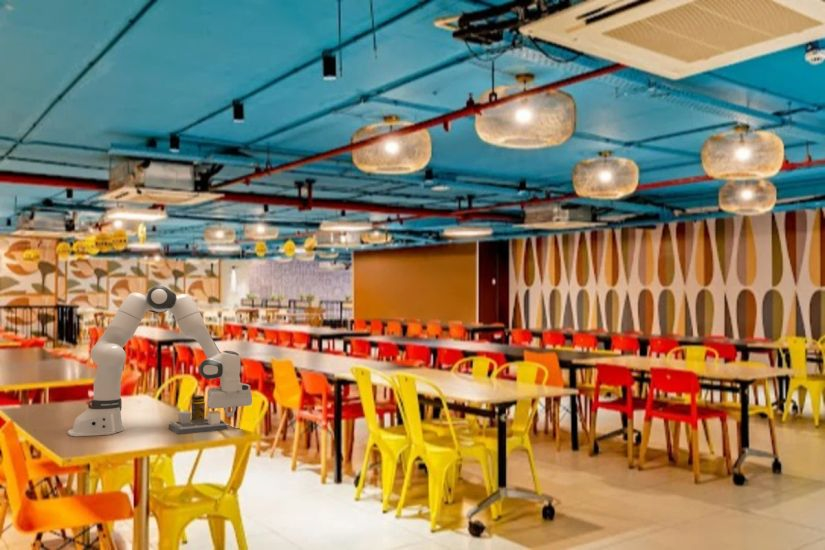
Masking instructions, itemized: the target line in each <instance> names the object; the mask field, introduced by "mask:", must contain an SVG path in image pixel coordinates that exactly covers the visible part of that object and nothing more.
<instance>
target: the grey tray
mask: <svg viewBox="0 0 825 550" xmlns="http://www.w3.org/2000/svg"><path fill="white" fill-rule="evenodd" d="M168 429H169V430H170V429H171V430H170V431H172V432H174V433H175V434H177V435H184V434H194V433H205V432H214V431H215V432H216V431H225V430H228V424H227V422H226V421H224V420H223V419H221V418H220V424H208V418H205V419H201V420H191V423H186V424H179V421H174V420H170V423H168Z"/></svg>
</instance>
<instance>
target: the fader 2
mask: <svg viewBox="0 0 825 550" xmlns="http://www.w3.org/2000/svg"><path fill="white" fill-rule="evenodd" d="M207 419H208V424H220V419H221V412H220V411H219V410H209V411H208V412H207Z"/></svg>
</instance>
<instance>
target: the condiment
mask: <svg viewBox="0 0 825 550" xmlns="http://www.w3.org/2000/svg"><path fill="white" fill-rule="evenodd" d="M205 412H206V402H205V396H204V395H199V394H198V395H194V396H192V401H191V420H201V419H206V418H205V416H206V415H205Z"/></svg>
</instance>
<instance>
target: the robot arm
mask: <svg viewBox="0 0 825 550" xmlns="http://www.w3.org/2000/svg"><path fill="white" fill-rule="evenodd" d="M168 311H169V312H170V313H172V315H173V317H174V319H175V321H176V324H177V325H178V328H179V329H180V331H181V332H182V333H183V335H185V336H186V337H189V338H191V339H193V340H195V341H196V342H197V343H198V344H199V345H200V347H201V349H202V351H203V353H204V355H205V357H206V359H204V360H203V361H201V362H200V364H199V368H198V371H199V374H200V377H202V378H203V379H207V380H215V379H219V381H220V384H219V385H220V386H217V387H211V388H209V389H208V390H207V401H206V403H207V405H206V406H207V408H208V409H211V410H212V409H221V408H222V409H223V411H224V412H225V417H226V418H233V417H234V413H235V412H236V409H237V407H238V408H239V407H250V406H251V405H252V404H253V395H252V391H251V385H249V384H247V383H244V382H241V377H240V376H241V375H240V373H241V357H240V355H239V353H237V352H236V351H233V350H223V351H222V352H221V351H220V350H219V348H218V346H217V344H216V343H215V340H214V338H213V337H212V334H211V333H210V332H209V329H208V328H207V324H206V323H205V321H204V319H203V316H202V313H201V311H200V309H199V308H198V305H197V304H196V303H195V301H194V300H193V298H192V297H191V296H190V295H189V294H186V293H180V294H177V295H176V293H175V292H173V291H172V290H170V289H169V288H168V287H165V286H163V285H155V286H153V287H151V288H150V289H149V291H148V292H147V294H143V293H140V292H137V291H136V292H130V293H129V294H128V295H127V296H126V297H125V299H124V300H123V302H122V303H121V304H120V306H119V307H118V310H117V311H116V313H115V314H114V315H113V318H112V320H111V322H110V323H109V325H108V326H107V328H106V330H105V331H104V332H103V333H102V335H101V336H100V337H99V339H98V340H97V342H96V343H95V344H94V345H93V347H92V348H91V349H90V353H89V354H90V358H91V361H92V362H93V363H94V364H95V365H96V366H97V367H96V373H95V377H94V381H93V398H92V399H91V400H90V399H87V400H86V401H85V403H86V405H88V406H87V407H88V408H87V409H86V410H85V411H83V412H81V414H79V415H78V416H77V417H75V420H74V423H73V427H72V428H70V429H69V430H67V434H68V436H71V437H89V436H90V437H92V436H107V435H108V436H109V435H114V434H117V433H120V432H123V431H124V425H123V421H122V415H121V414H122V413H121V412H122V409H123V408H122V406H123V404H122V402H123V401H122V398H121V391H122V390H121V389H122V387H121V383H122V376H123V371H124V365H125V362H126V358H127V355H126V351H125V350H124V349H123V348H124V347H125V346H126V345H127V343H128V342H129V341H130V340H131V339H132V338H133V337H134V335H135V333H136V331H137V329H138V328H139V326H140V324H141V323H142V320H143V318H144V316H145V315H146V314H147V312H150V313H157V314H162V313H163V314H164V313H165V312H168ZM229 408H231V411H230V412H229V411H228V410H229Z"/></svg>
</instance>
